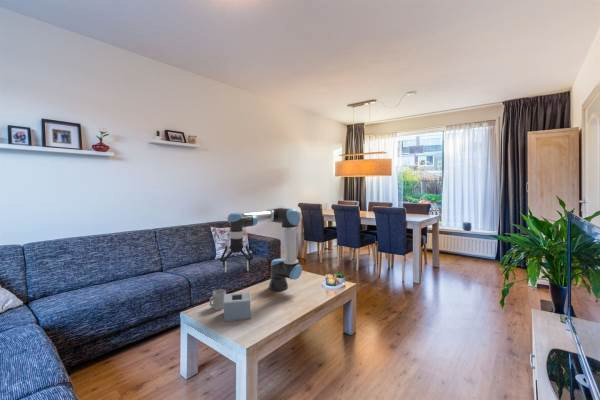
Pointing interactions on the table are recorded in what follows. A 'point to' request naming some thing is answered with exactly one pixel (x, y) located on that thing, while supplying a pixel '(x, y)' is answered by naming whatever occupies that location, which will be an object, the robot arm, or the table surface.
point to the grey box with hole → (237, 306)
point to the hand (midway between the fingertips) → (236, 271)
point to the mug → (218, 299)
